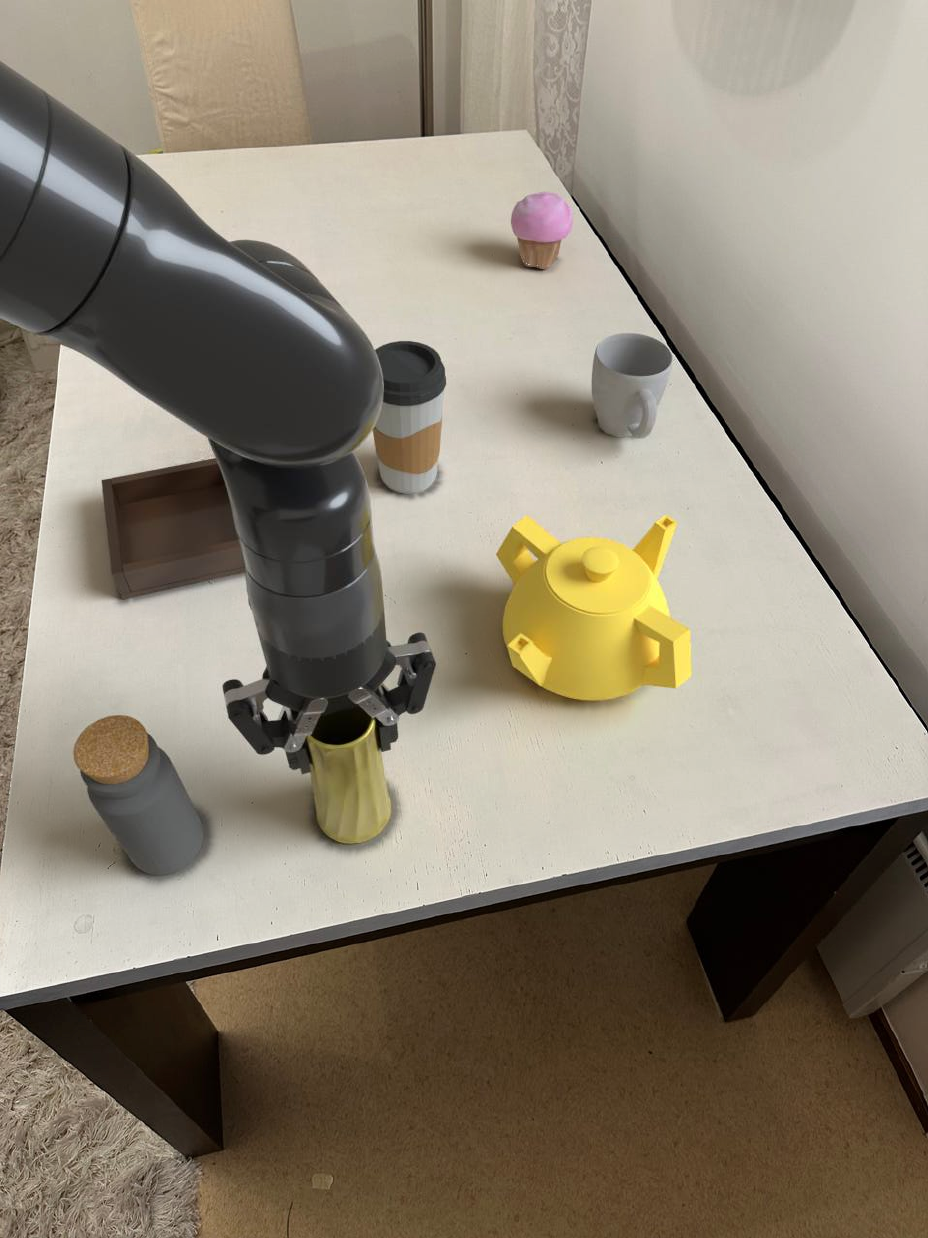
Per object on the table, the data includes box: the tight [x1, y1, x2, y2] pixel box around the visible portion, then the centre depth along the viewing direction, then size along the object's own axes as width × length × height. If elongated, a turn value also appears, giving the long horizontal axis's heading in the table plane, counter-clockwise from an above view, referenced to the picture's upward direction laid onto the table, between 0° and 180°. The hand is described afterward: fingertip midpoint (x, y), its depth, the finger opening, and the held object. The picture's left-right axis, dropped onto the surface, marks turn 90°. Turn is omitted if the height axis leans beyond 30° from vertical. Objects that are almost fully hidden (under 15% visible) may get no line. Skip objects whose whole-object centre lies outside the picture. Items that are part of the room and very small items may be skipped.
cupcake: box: [510, 191, 574, 270], centre depth 122 cm, size 9×9×10 cm
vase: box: [304, 707, 392, 844], centre depth 64 cm, size 6×6×14 cm
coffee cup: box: [372, 340, 447, 495], centre depth 90 cm, size 8×8×15 cm
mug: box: [591, 332, 674, 439], centre depth 98 cm, size 12×9×10 cm
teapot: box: [495, 514, 693, 702], centre depth 76 cm, size 17×17×12 cm
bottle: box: [72, 714, 205, 877], centre depth 61 cm, size 6×6×15 cm
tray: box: [101, 457, 245, 600], centre depth 87 cm, size 14×14×4 cm
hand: (344, 751), depth 62 cm, fingers closed on vase, 5 cm apart
